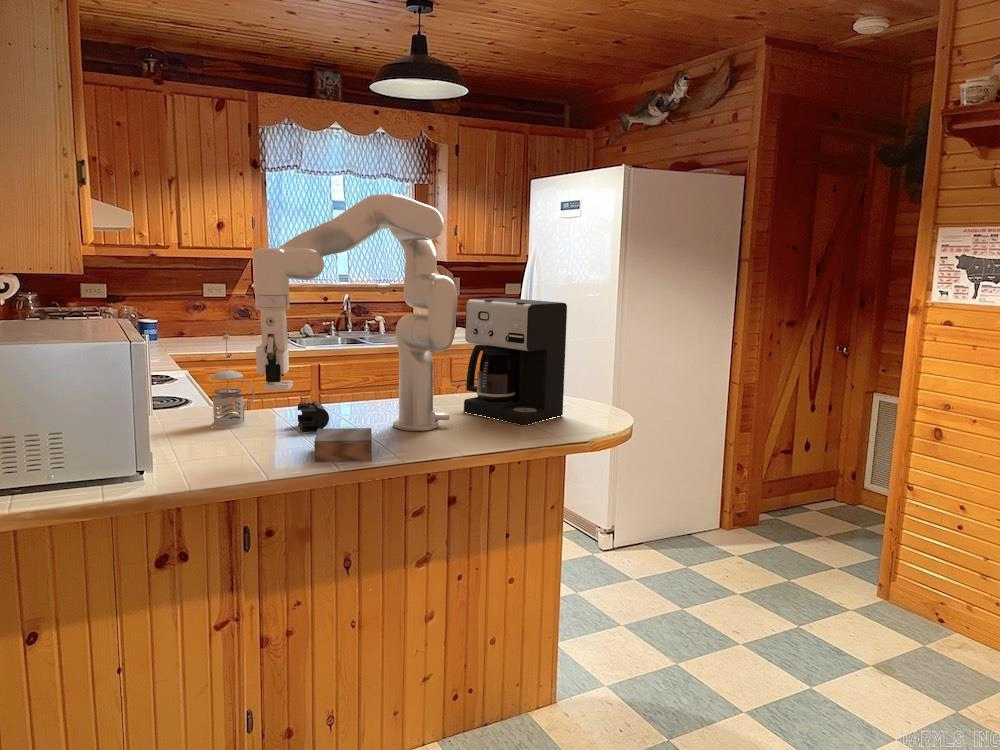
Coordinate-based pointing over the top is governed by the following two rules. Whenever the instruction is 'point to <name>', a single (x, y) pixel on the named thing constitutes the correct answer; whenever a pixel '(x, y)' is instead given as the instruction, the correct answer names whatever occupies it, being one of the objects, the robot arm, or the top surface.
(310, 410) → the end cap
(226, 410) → the french press
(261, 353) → the security camera
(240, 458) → the top surface
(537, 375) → the coffee maker
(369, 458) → the walnut stand
